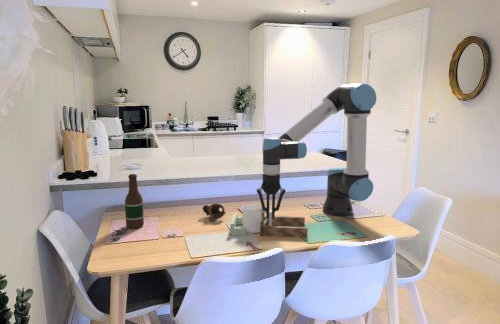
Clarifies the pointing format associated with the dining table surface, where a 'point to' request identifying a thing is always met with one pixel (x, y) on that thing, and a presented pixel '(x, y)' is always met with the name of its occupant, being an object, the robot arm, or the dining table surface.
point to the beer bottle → (134, 205)
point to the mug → (252, 217)
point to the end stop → (235, 229)
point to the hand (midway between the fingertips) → (270, 225)
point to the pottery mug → (214, 211)
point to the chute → (281, 230)
